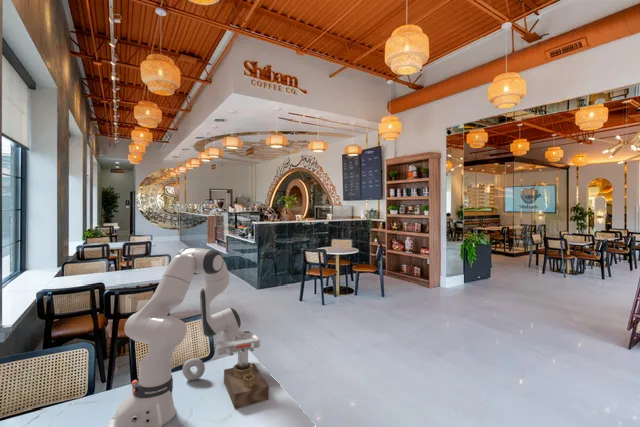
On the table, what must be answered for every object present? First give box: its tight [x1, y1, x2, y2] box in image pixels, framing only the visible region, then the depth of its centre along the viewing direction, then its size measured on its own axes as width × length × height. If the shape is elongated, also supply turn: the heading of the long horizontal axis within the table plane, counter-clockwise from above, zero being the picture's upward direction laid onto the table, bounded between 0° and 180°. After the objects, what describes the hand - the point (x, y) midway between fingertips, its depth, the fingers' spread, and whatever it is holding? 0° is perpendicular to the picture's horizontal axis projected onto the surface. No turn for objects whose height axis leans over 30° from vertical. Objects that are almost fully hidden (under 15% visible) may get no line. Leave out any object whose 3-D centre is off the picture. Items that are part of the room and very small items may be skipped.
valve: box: [236, 343, 250, 370], centre depth 146 cm, size 6×5×12 cm
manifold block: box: [223, 362, 270, 410], centre depth 142 cm, size 14×22×9 cm, turn 27°
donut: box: [182, 357, 206, 381], centre depth 151 cm, size 10×4×10 cm, turn 97°
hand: (241, 351), depth 148 cm, fingers open, 8 cm apart
